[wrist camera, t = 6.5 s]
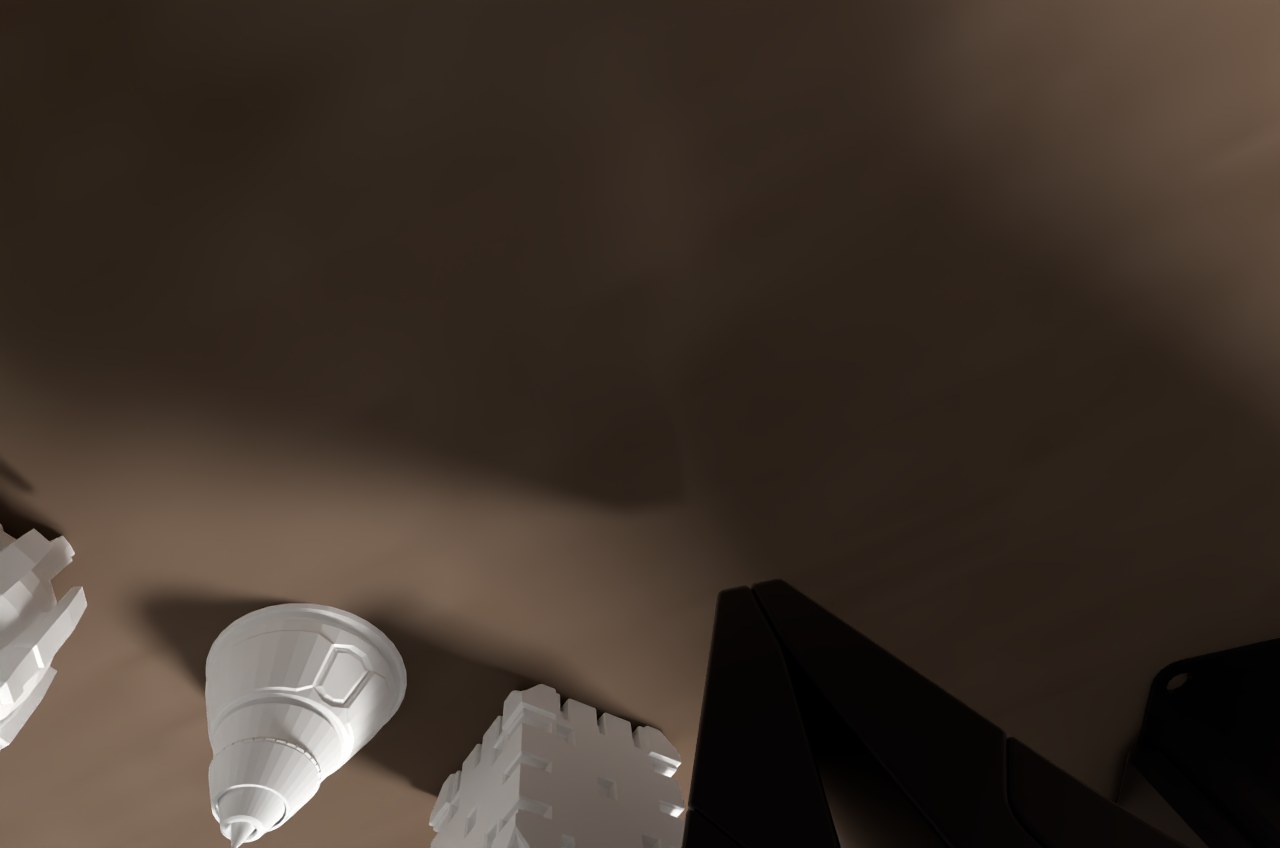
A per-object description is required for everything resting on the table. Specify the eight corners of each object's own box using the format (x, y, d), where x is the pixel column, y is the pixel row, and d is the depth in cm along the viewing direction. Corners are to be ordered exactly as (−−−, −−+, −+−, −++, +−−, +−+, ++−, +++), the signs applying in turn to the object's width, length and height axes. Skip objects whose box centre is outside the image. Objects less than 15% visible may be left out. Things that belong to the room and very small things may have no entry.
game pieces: (677, 721, 12) (719, 913, 9) (579, 836, 13) (588, 1044, 10) (-116, 397, 8) (-493, 548, 5) (-176, 593, 9) (-528, 815, 6)
